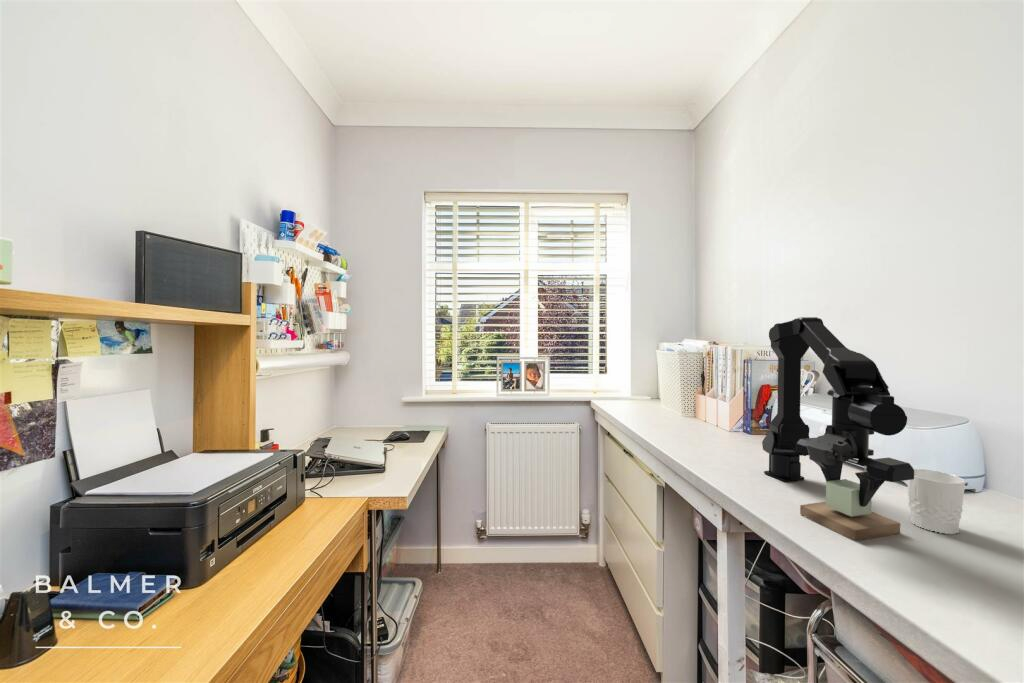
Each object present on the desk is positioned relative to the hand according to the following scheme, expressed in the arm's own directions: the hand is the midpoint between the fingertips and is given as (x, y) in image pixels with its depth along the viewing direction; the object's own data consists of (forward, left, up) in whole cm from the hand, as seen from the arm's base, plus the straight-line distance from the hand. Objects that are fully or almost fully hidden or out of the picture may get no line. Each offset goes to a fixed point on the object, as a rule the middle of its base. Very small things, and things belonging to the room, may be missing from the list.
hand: (848, 500), depth 83 cm
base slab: (0, 0, -5) cm, 5 cm away
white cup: (+5, +15, -5) cm, 17 cm away
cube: (0, 0, -2) cm, 2 cm away
